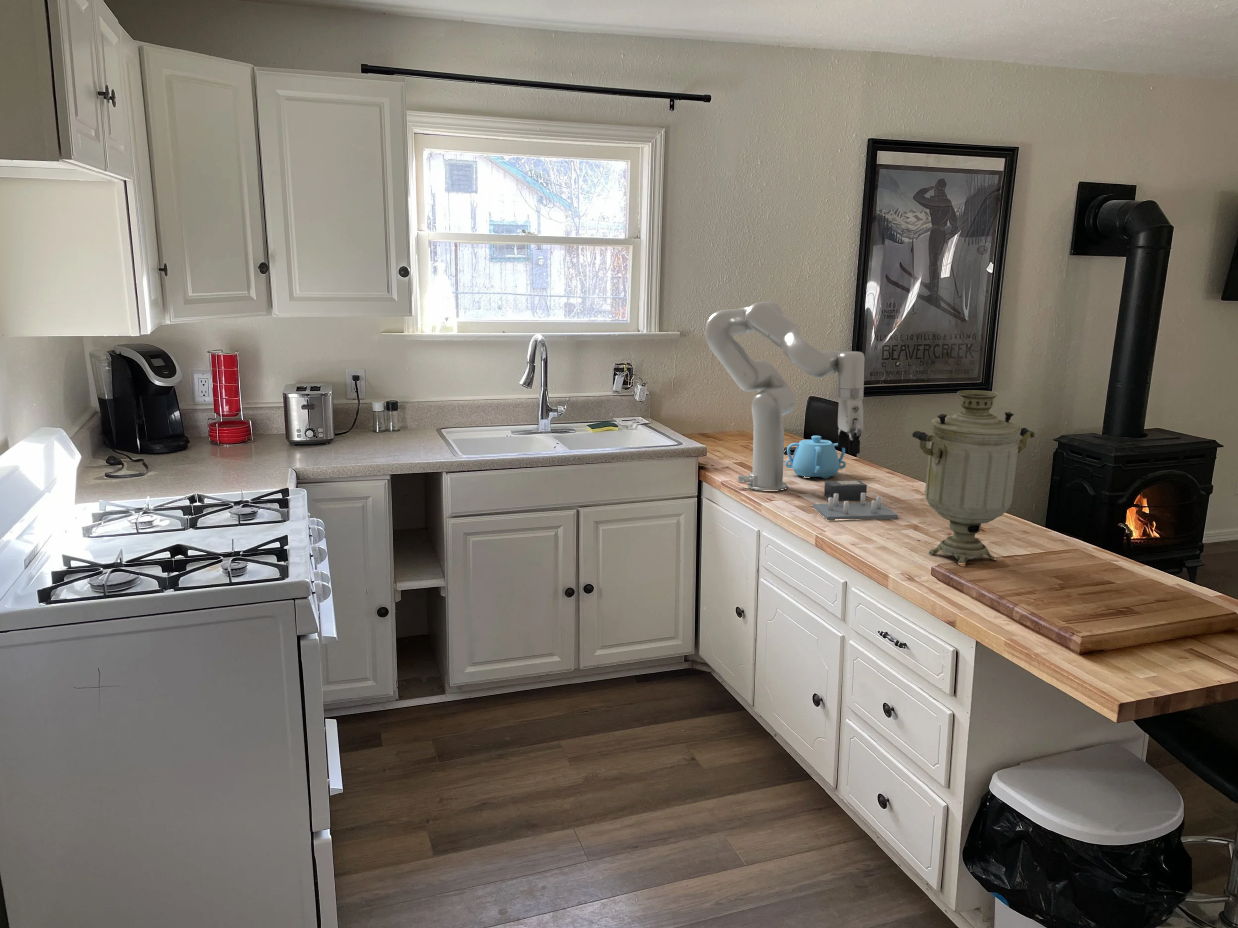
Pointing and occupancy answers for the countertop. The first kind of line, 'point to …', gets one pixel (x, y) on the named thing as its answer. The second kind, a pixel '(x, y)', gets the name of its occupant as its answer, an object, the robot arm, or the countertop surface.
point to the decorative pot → (815, 458)
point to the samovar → (971, 470)
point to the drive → (845, 490)
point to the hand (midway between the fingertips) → (848, 450)
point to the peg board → (855, 509)
